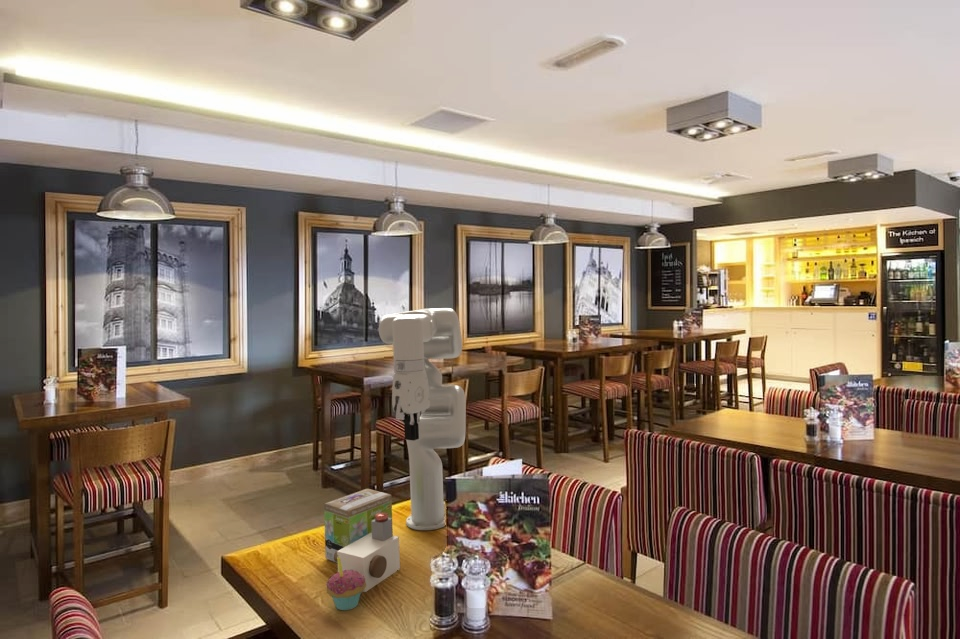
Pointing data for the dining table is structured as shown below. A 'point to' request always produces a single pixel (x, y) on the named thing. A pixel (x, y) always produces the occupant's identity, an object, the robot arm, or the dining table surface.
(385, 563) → the pin
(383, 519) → the plunger
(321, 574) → the dining table surface
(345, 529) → the tea box
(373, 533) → the block
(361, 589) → the cupcake
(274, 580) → the dining table surface
